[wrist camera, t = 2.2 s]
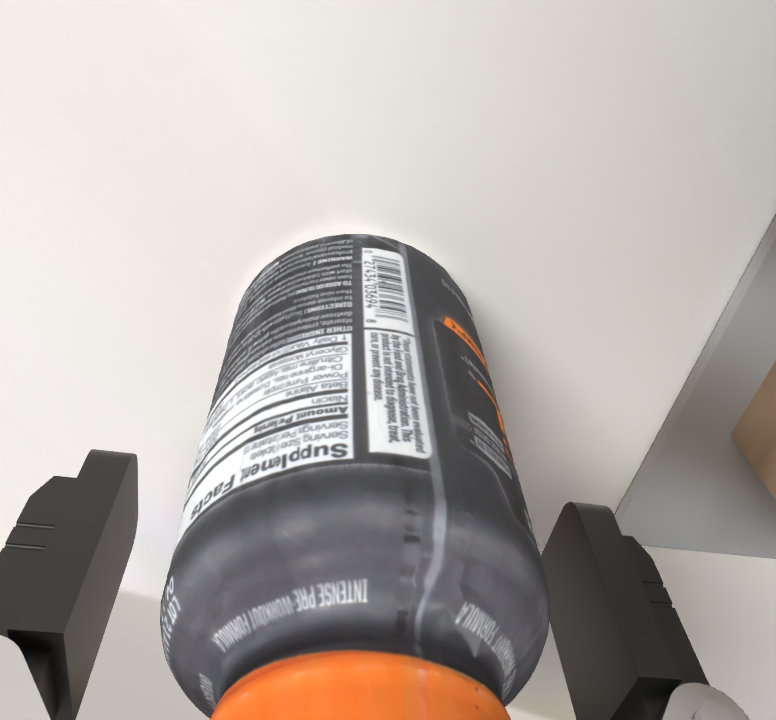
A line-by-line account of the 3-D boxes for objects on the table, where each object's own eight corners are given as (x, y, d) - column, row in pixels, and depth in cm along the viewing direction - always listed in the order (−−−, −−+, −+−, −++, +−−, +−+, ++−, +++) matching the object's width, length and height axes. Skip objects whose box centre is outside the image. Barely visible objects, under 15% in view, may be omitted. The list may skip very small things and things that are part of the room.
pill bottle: (470, 420, 19) (582, 931, 10) (255, 434, 19) (163, 961, 10) (475, 216, 16) (652, 707, 6) (213, 233, 16) (13, 750, 6)
